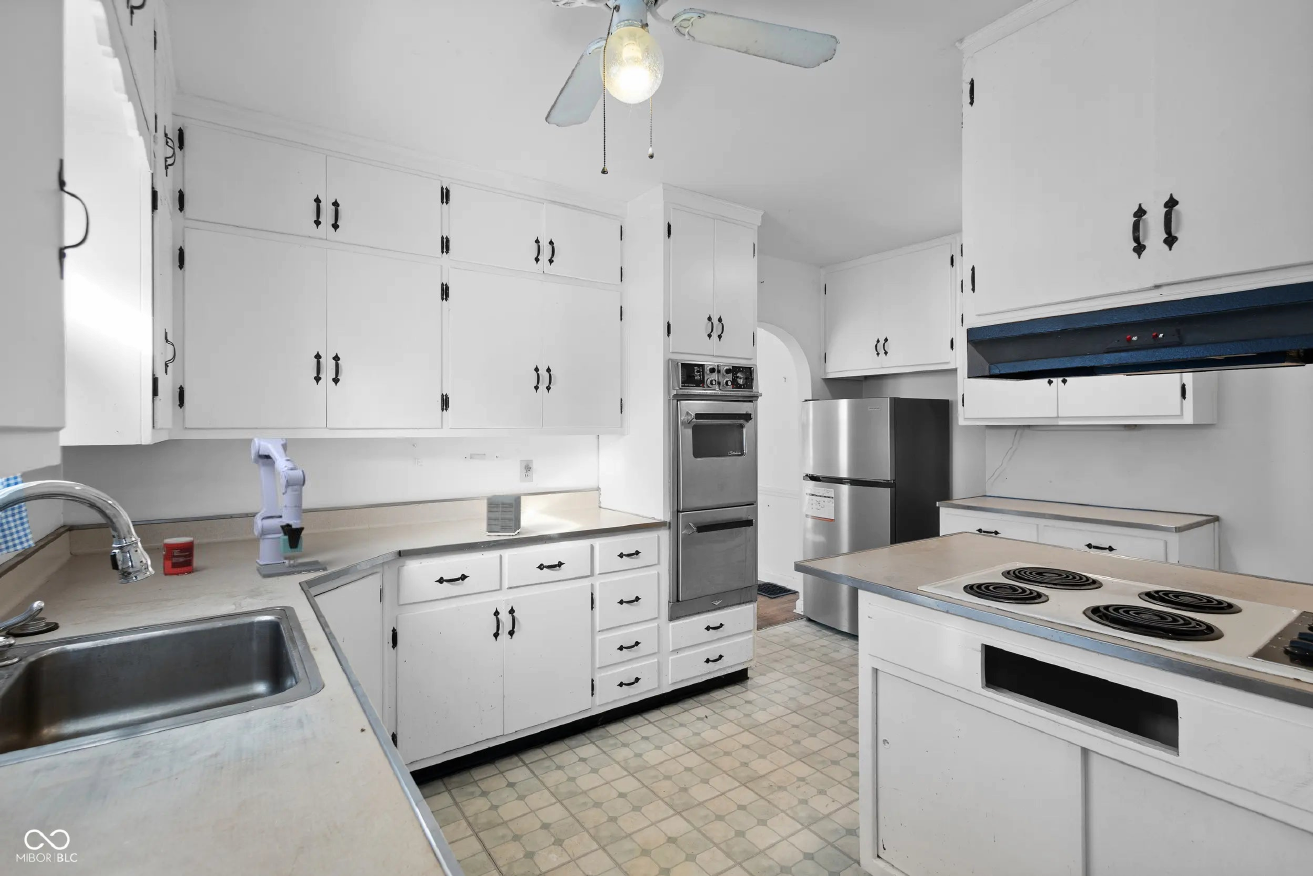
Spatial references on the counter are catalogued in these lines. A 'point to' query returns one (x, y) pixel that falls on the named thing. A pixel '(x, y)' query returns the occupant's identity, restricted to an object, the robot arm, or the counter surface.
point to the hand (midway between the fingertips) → (291, 547)
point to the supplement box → (503, 513)
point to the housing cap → (285, 545)
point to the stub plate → (290, 568)
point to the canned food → (178, 556)
